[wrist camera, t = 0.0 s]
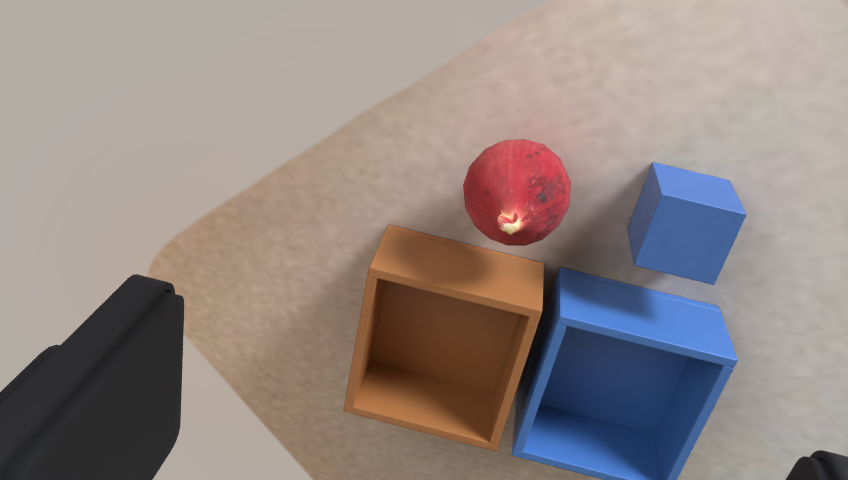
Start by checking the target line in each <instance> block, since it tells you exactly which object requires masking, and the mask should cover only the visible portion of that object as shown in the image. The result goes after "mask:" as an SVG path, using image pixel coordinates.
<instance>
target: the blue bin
mask: <svg viewBox="0 0 848 480" xmlns="http://www.w3.org/2000/svg"><path fill="white" fill-rule="evenodd" d="M737 361H738V360H737V357H736V354H735V351H734V348H733V345H732V343H731V340H730V337H729V334H728V331H727V328H726V325H725V323H724V320H723V317H722V314H721V311H720V308H719V307H718V306H715V305H711V304H706V303H702V302H698V301H694V300H690V299H686V298H682V297H678V296H674V295H670V294H666V293H662V292H658V291H654V290H650V289H646V288H642V287H638V286H634V285H630V284H626V283H622V282H618V281H614V280H610V279H606V278H602V277H598V276H594V275H590V274H586V273H582V272H578V271H574V270H570V269H566V268H562V267H560V268H559V271H558V274H557V277H556V280H555V283H554V286H553V289H552V292H551V295H550V298H549V301H548V304H547V307H546V310H545V313H544V316H543V319H542V322H541V326H540V329H539V332H538V335H537V338H536V341H535V344H534V347H533V350H532V353H531V356H530V359H529V362H528V365H527V368H526V371H525V374H524V377H523V380H522V383H521V386H520V389H519V392H518V395H517V398H516V408H515V421H514V433H513V446H512V455H513V456H516V457H520V458H524V459H527V460H531V461H535V462H539V463H543V464H546V465H550V466H554V467H558V468H562V469H566V470H569V471H573V472H577V473H581V474H585V475H588V476H592V477H596V478H600V479H604V480H677V478H678V476H679V474H680V473H681V471H682V469H683V467H684V465H685V463H686V461H687V459H688V457H689V455H690V453H691V451H692V449H693V447H694V445H695V443H696V441H697V439H698V437H699V435H700V433H701V431H702V429H703V427H704V426H705V424H706V422H707V420H708V418H709V416H710V414H711V412H712V410H713V408H714V406H715V404H716V402H717V400H718V398H719V396H720V394H721V392H722V390H723V388H724V386H725V384H726V382H727V380H728V379H729V377H730V375H731V373H732V371H733V368H734V367H735V365H736V363H737Z"/></svg>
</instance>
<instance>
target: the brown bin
mask: <svg viewBox="0 0 848 480" xmlns="http://www.w3.org/2000/svg"><path fill="white" fill-rule="evenodd" d="M543 279H544V263H542V262H538V261H533V260H529V259H525V258H521V257H517V256H513V255H509V254H505V253H501V252H497V251H493V250H489V249H485V248H481V247H477V246H473V245H469V244H465V243H461V242H457V241H453V240H449V239H445V238H441V237H437V236H433V235H429V234H425V233H421V232H417V231H413V230H409V229H405V228H401V227H397V226H393V225H388V227H387V230H386V232H385V234H384V236H383V238H382V240H381V243H380V245H379V247H378V249H377V251H376V253H375V256H374V258H373V260H372V262H371V264H370V267H369V270H368V276H367V281H366V287H365V293H364V298H363V304H362V309H361V315H360V321H359V326H358V332H357V337H356V343H355V348H354V354H353V360H352V365H351V371H350V376H349V382H348V387H347V393H346V399H345V405H344V410H343V411H344V412H348V413H352V414H356V415H360V416H363V417H367V418H371V419H375V420H379V421H382V422H386V423H390V424H394V425H398V426H401V427H405V428H409V429H413V430H417V431H420V432H424V433H428V434H432V435H436V436H439V437H443V438H447V439H451V440H455V441H458V442H462V443H466V444H470V445H474V446H477V447H481V448H485V449H489V450H493V451H497V448H498V444H499V441H500V438H501V435H502V432H503V429H504V426H505V423H506V420H507V417H508V414H509V411H510V408H511V405H512V402H513V399H514V396H515V393H516V390H517V387H518V384H519V381H520V378H521V375H522V371H523V368H524V365H525V362H526V359H527V356H528V353H529V350H530V347H531V344H532V341H533V338H534V335H535V332H536V329H537V326H538V323H539V319H540V317H541V314H542V305H543Z"/></svg>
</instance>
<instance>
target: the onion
mask: <svg viewBox="0 0 848 480" xmlns="http://www.w3.org/2000/svg"><path fill="white" fill-rule="evenodd" d="M570 186H571V182H570V180H569V177H568V175H567V173H566V170H565V168H564V166H563V163H562V161H561V159H560V158H559V157H558V156H557V155H556V154H554V153H553V152H552V151H551V150H550V149H548V148H547V147H546V146H545V145H543V144H540V143H536V142H532V141H528V140H524V139H521V140H505V141H502V142H499V143H497V144H495V145H493V146H491V147H488V148H486V149H485V150H484V151H483V152H482V153H481V154H480V155H479V157H478V158H477V159H476V160H475V161H474V162H473V163H472V164H471V165H470V167H469V170H468V173H467V175H466V178H465V181H464V184H463V188H464V198H465V207H466V210H467V212H468V214H469V216H470V217H471V219H472V221H473V223H474V225H475V226H476V228H478V229H479V230H480V231H481V232H482V233H484V234H485V235H486V236H487V237H488V238H489V239H492V240H494V241H497V242H500V243H503V244H505V245H520V246H524V245H528V244H531V243H534V242H537V241H540V240H542V239H544V238H545V237H546V236H547V235H548V234H550V233H551V232H552V231H553V230H554V229H556V228H557V227H558V226H559V224H560V223H561V221H562V219H563V217H564V215H565V213H566V212H567V210H568V206H569V200H570Z"/></svg>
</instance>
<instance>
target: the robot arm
mask: <svg viewBox="0 0 848 480" xmlns="http://www.w3.org/2000/svg"><path fill="white" fill-rule="evenodd" d="M183 326H184V299H183V297H182V296H180V295H176V294H175V289H174V286H173V285H172V284H171V283H168V282H164V281H161V280H157V279H153V278H149V277H145V276H141V275H137V274H136V275H132V276H131V277H129V278H128V279H127V280H126V281H125V282H124V283H123V284H122V285H121V286H120V287H119V288H118V289H117V290H116V291H115V292H114V293H113V294H112V295H111V296H110V297H109V298H108V299H107V300H106V301H105V302H104V303H103V304H102V305H101V306H100V307H99V308H98V309H97V310H96V311H95V312H94V313H93V314H92V315H91V316H90V317H89V318H88V319H87V320H86V321H85V322H84V323H83V324H82V325H81V326H80V327H79V328H78V329H77V330H76V331H75V332H74V333H73V334H72V335H71V336H70V337H69V338H68V339H67V340H66V341H65V342H63V344H61V345H54V346H51V347H48V348H47V349H46V350H44V351H43V352H42V353H40V354H39V355H38V356H37V357H36V359H34V360H33V361H32V362H31V363H30V364H29V365H28V366H27V367H26V368H25V369H24V370H23V371H22V372H21V373H20V374H19V375H18V376H17V377H16V378H15V379H14V380H13V381H11V382H10V383H9V385H7V386H6V387H5V388H4V389H3V390H2V391H1V392H0V480H152V479H153V478H154V476H155V475H156V473H157V471H158V470H159V468H160V467H161V465H162V464H163V462H164V461H165V459H166V458H167V456H168V455H169V453H170V451H171V450H172V448H173V446H174V444H175V442H176V440H177V437H178V434H179V429H180V416H181V387H182V356H183V355H182V354H183ZM786 480H848V457H846V456H842V455H838V454H834V453H830V452H827V451H816V452H815V453H813V454H812V455H811V456H810V458H809V457H802V458H800V459H799V460H798V461H797V462H796V464H795V465H794V467H793V469H792V470H791V472H790V474H789V475H788V477H787V478H786Z"/></svg>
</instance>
